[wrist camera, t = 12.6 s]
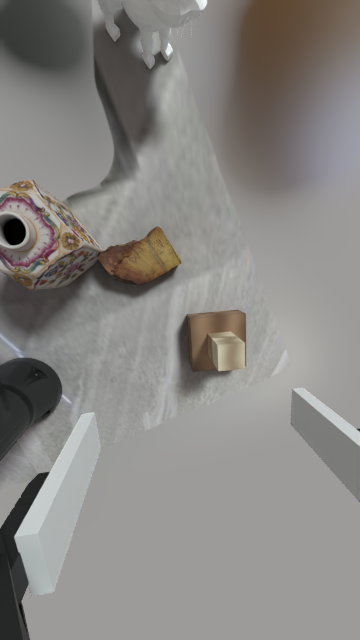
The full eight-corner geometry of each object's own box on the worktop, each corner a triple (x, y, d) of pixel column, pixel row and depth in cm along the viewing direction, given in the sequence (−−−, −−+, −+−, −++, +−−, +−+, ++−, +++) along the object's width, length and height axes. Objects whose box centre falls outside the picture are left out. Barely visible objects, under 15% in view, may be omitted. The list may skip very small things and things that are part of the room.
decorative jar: (68, 205, 44) (7, 157, 26) (107, 253, 46) (76, 239, 29) (23, 243, 44) (-66, 222, 27) (65, 288, 47) (9, 296, 29)
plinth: (190, 362, 53) (193, 371, 48) (187, 314, 50) (190, 318, 46) (238, 357, 54) (246, 366, 49) (237, 309, 51) (245, 313, 46)
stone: (165, 226, 46) (165, 221, 41) (181, 268, 48) (183, 267, 43) (100, 253, 46) (92, 251, 41) (119, 294, 48) (114, 296, 43)
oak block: (208, 355, 48) (218, 371, 40) (207, 333, 47) (217, 345, 39) (230, 353, 48) (244, 368, 40) (230, 331, 47) (244, 342, 39)
